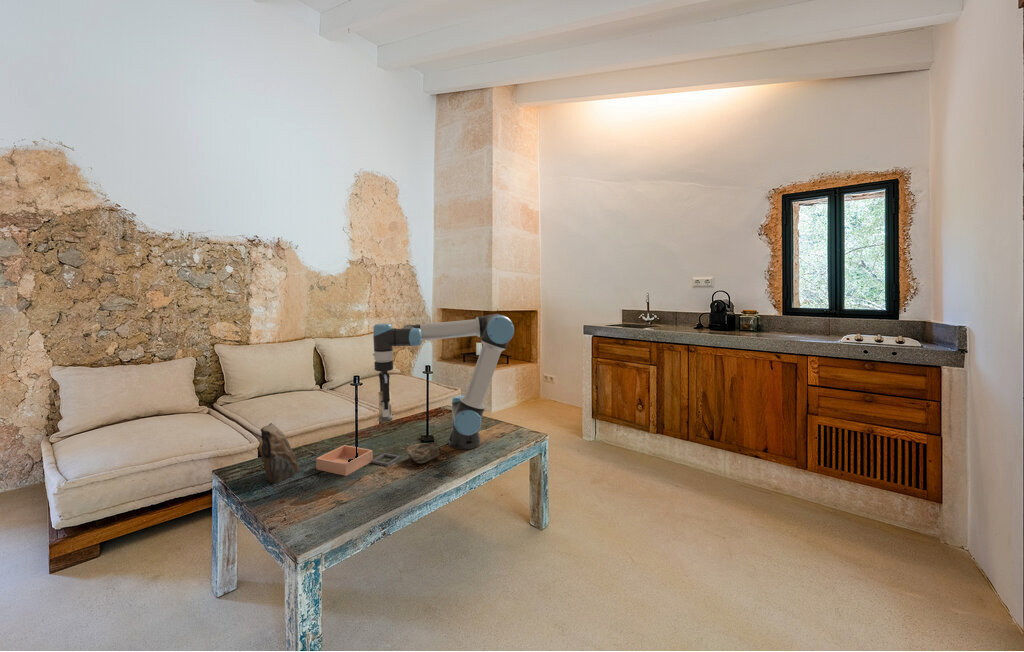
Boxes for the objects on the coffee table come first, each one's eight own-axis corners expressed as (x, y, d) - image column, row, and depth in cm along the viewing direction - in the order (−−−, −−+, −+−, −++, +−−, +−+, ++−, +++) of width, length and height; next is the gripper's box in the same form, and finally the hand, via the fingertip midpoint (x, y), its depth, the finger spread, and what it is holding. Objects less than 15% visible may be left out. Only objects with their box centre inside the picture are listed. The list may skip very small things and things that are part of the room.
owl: (273, 485, 157) (271, 434, 155) (249, 480, 161) (246, 429, 159) (301, 471, 169) (299, 423, 167) (277, 466, 173) (275, 419, 171)
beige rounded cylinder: (391, 417, 182) (390, 390, 180) (393, 421, 176) (392, 393, 175) (377, 418, 179) (377, 391, 178) (379, 422, 174) (378, 394, 173)
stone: (411, 461, 171) (409, 438, 176) (406, 471, 178) (403, 448, 183) (443, 458, 177) (439, 436, 183) (436, 467, 184) (433, 446, 190)
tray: (372, 460, 179) (372, 450, 179) (346, 475, 165) (345, 464, 165) (344, 454, 185) (344, 444, 185) (316, 469, 171) (315, 458, 170)
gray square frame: (400, 458, 182) (400, 456, 182) (387, 466, 174) (387, 463, 174) (384, 455, 185) (384, 453, 185) (371, 462, 177) (371, 460, 177)
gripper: (372, 357, 182) (374, 409, 184) (376, 365, 166) (378, 422, 168) (390, 356, 185) (391, 407, 187) (395, 363, 169) (397, 419, 171)
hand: (385, 414), depth 178 cm, fingers closed on beige rounded cylinder, 5 cm apart
